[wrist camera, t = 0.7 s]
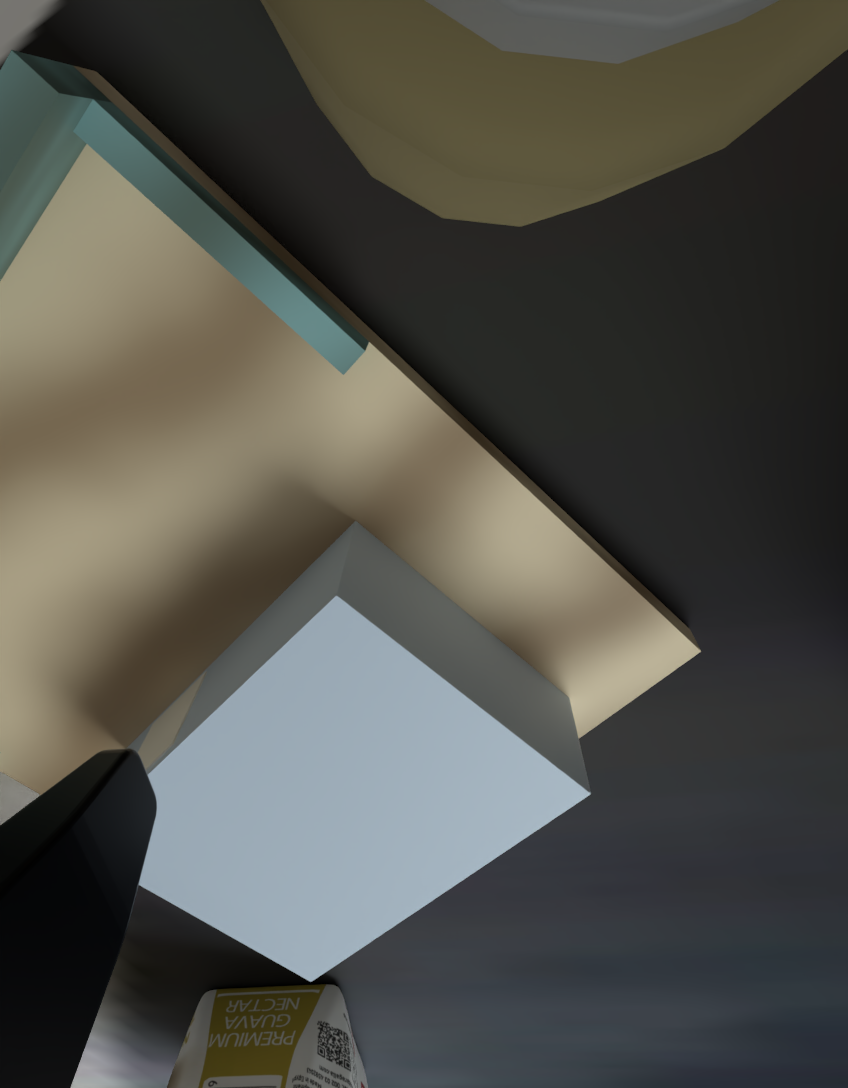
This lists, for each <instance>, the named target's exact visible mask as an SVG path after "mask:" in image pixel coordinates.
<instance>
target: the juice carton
mask: <svg viewBox="0 0 848 1088" xmlns="http://www.w3.org/2000/svg"><path fill="white" fill-rule="evenodd" d="M167 1088H368V1086H367V1080H366V1075H365V1070H364V1067H363V1063H362V1060H361V1057H360V1055H359V1052H358V1049H357V1046H356V1043H355V1040H354V1038H353V1034H352V1030H351V1025H350V1021H349V1016H348V1011H347V1007H346V1004H345V1000H344V997H343V995H342V993H341V991H340V989H339V987H337V986H335V985H329V984H318V985H294V986H273V987H251V988H229V989H216V990H210V991H208V992H206V993H205V994H204V995H203V996H202V998H201V1000H200V1002H199V1004H198V1006H197V1009H196V1011H195V1014H194V1016H193V1018H192V1021H191V1024H190V1026H189V1029H188V1031H187V1034H186V1037H185V1039H184V1042H183V1044H182V1047H181V1050H180V1052H179V1055H178V1058H177V1060H176V1063H175V1066H174V1069H173V1071H172V1074H171V1077H170V1080H169V1083H168V1086H167Z"/></svg>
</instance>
